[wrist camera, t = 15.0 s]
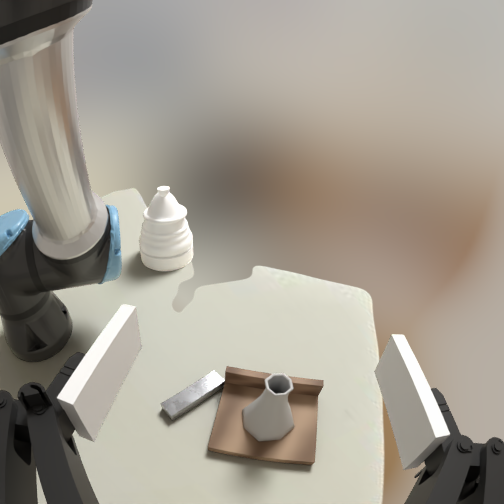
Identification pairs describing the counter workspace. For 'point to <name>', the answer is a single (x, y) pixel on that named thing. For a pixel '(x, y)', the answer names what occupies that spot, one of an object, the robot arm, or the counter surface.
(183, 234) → the honey pot
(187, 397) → the grey rectangular bar
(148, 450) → the counter surface
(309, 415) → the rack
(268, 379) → the flask
